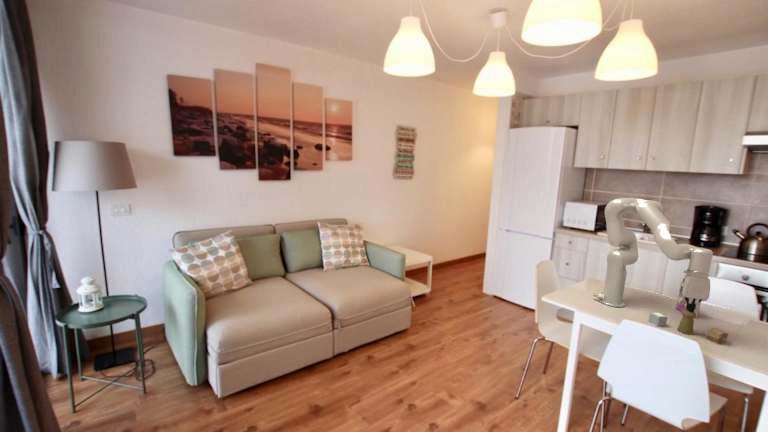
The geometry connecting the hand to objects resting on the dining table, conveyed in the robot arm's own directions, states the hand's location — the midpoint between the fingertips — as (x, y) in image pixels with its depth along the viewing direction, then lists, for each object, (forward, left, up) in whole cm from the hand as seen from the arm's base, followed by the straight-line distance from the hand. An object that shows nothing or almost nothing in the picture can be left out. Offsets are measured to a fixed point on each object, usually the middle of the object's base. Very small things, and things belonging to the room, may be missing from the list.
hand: (689, 310), depth 170 cm
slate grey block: (-10, +5, -11) cm, 16 cm away
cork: (0, 0, -11) cm, 11 cm away
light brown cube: (+10, -5, -11) cm, 16 cm away
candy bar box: (+12, +26, -11) cm, 31 cm away
